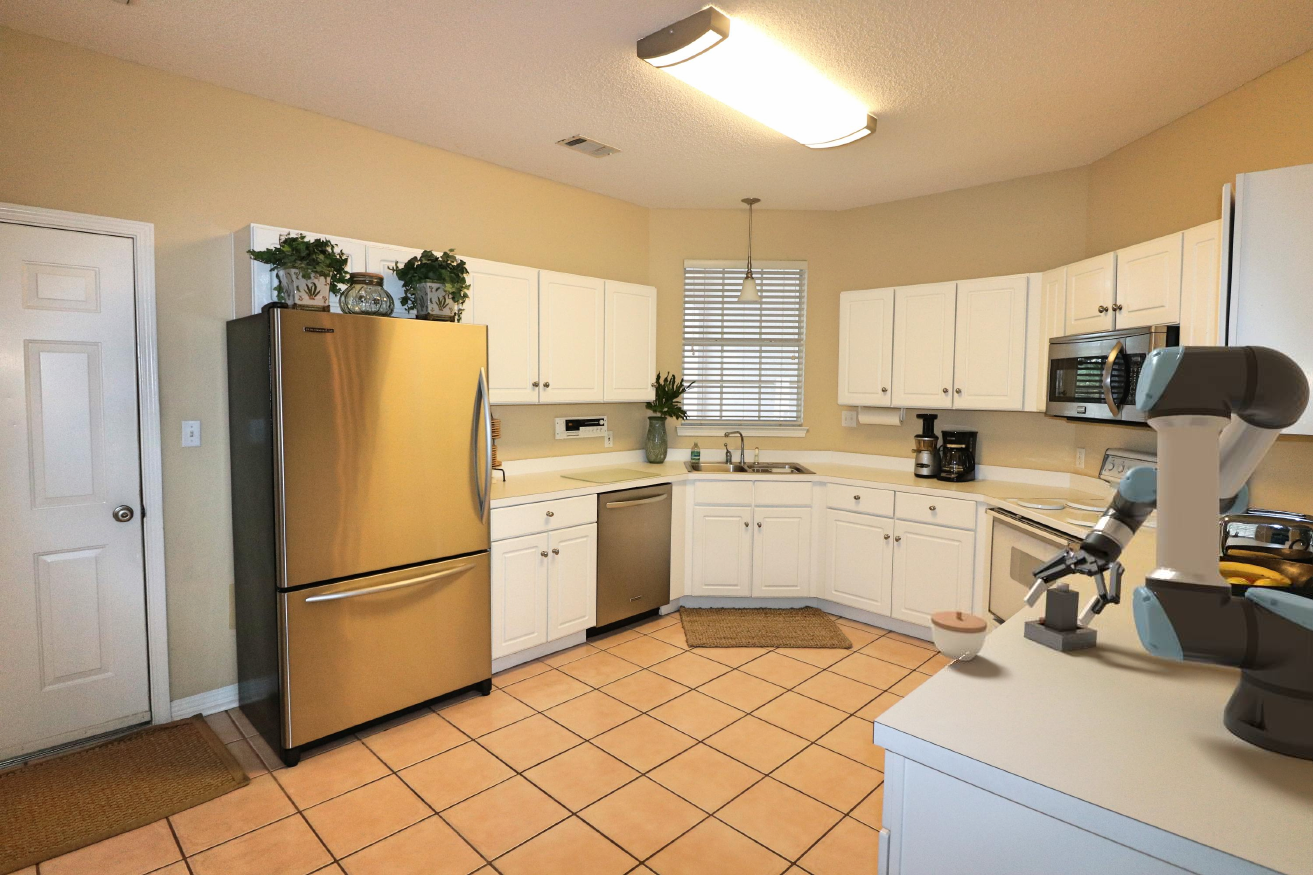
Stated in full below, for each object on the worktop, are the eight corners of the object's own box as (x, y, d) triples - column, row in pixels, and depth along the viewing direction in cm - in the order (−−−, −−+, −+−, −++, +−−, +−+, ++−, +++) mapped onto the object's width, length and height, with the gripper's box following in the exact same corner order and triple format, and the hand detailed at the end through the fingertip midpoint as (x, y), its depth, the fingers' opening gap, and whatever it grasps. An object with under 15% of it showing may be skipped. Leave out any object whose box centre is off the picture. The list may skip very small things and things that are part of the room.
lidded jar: (926, 658, 143) (928, 614, 142) (932, 642, 152) (934, 600, 152) (984, 669, 138) (986, 623, 137) (986, 651, 148) (988, 608, 147)
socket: (1096, 645, 152) (1097, 627, 151) (1061, 651, 148) (1062, 633, 148) (1057, 631, 160) (1058, 614, 160) (1023, 636, 157) (1024, 619, 157)
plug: (1076, 640, 153) (1079, 585, 152) (1059, 643, 151) (1063, 587, 151) (1060, 634, 157) (1063, 580, 156) (1043, 636, 155) (1046, 582, 154)
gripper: (1169, 565, 147) (1115, 642, 142) (1063, 541, 170) (1015, 606, 166) (1154, 543, 144) (1099, 620, 140) (1049, 521, 168) (999, 586, 163)
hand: (1053, 613), depth 153 cm, fingers open, 13 cm apart
